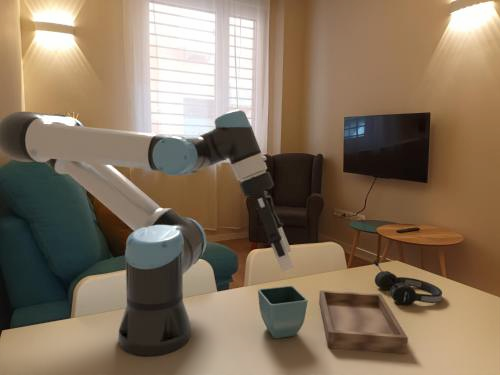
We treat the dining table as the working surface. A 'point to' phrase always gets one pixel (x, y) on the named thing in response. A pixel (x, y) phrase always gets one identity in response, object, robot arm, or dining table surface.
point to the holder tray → (360, 322)
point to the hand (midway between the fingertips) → (286, 260)
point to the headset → (406, 288)
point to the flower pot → (282, 310)
